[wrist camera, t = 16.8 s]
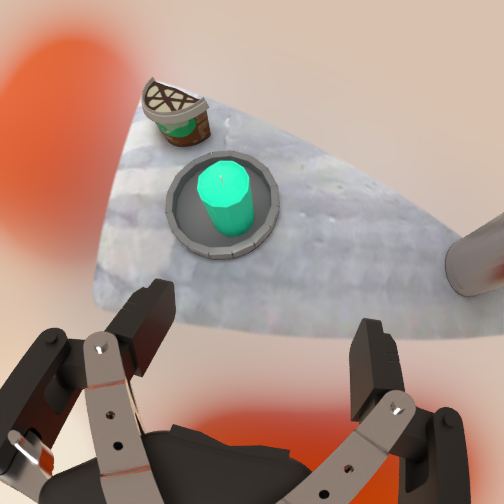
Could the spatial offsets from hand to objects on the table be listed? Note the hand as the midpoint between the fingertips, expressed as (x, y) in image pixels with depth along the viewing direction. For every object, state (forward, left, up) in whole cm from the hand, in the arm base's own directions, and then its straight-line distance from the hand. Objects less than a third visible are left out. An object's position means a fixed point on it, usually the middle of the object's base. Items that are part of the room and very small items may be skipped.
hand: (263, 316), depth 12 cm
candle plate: (-1, -19, -29) cm, 34 cm away
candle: (-2, -16, -28) cm, 32 cm away
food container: (+1, -35, -29) cm, 45 cm away
